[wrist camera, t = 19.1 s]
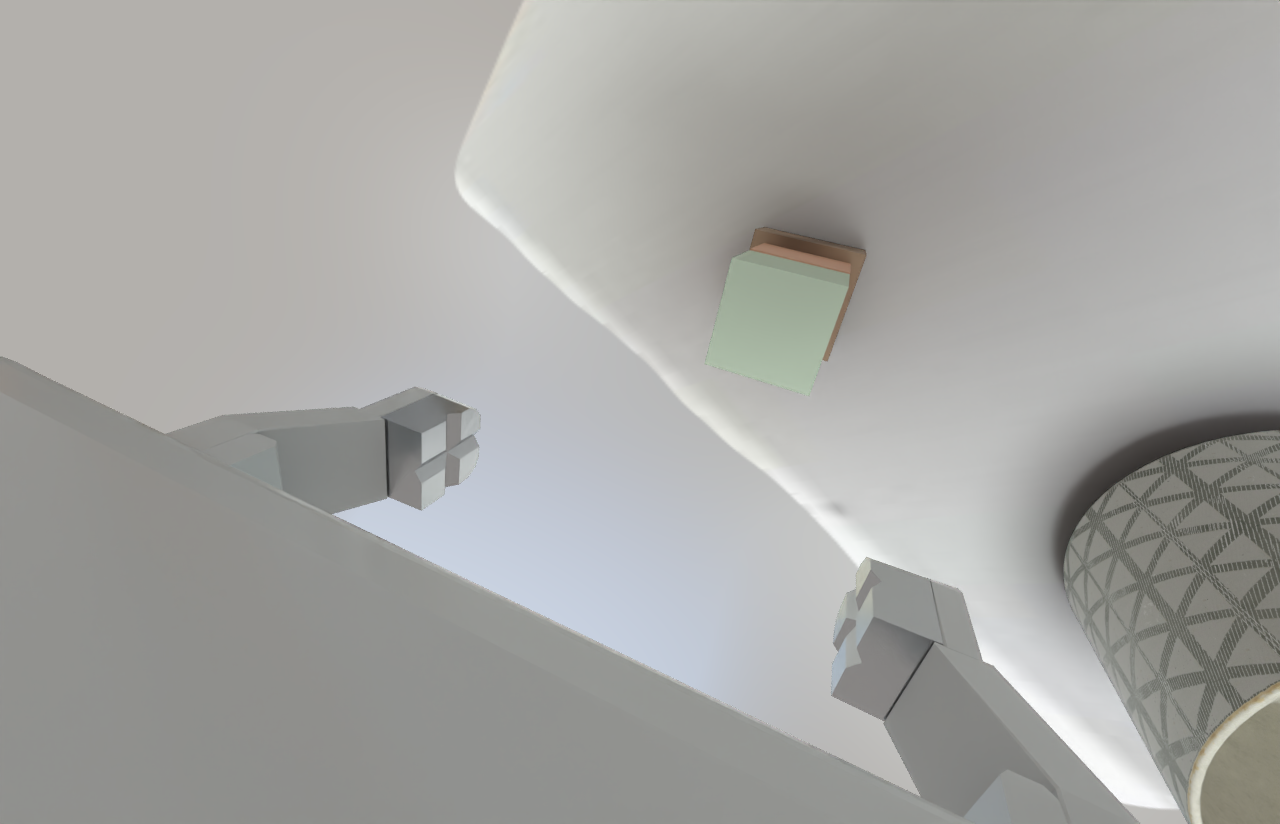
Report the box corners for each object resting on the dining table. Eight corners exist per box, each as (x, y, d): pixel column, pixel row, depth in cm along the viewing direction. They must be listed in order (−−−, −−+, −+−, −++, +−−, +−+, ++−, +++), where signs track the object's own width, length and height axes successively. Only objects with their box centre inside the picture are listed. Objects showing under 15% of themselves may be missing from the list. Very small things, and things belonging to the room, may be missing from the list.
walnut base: (865, 250, 35) (866, 255, 31) (829, 347, 38) (827, 361, 34) (764, 227, 37) (755, 229, 33) (738, 321, 40) (727, 332, 36)
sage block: (849, 274, 27) (848, 286, 23) (815, 368, 30) (809, 396, 26) (750, 250, 29) (731, 257, 25) (725, 342, 31) (704, 363, 27)
